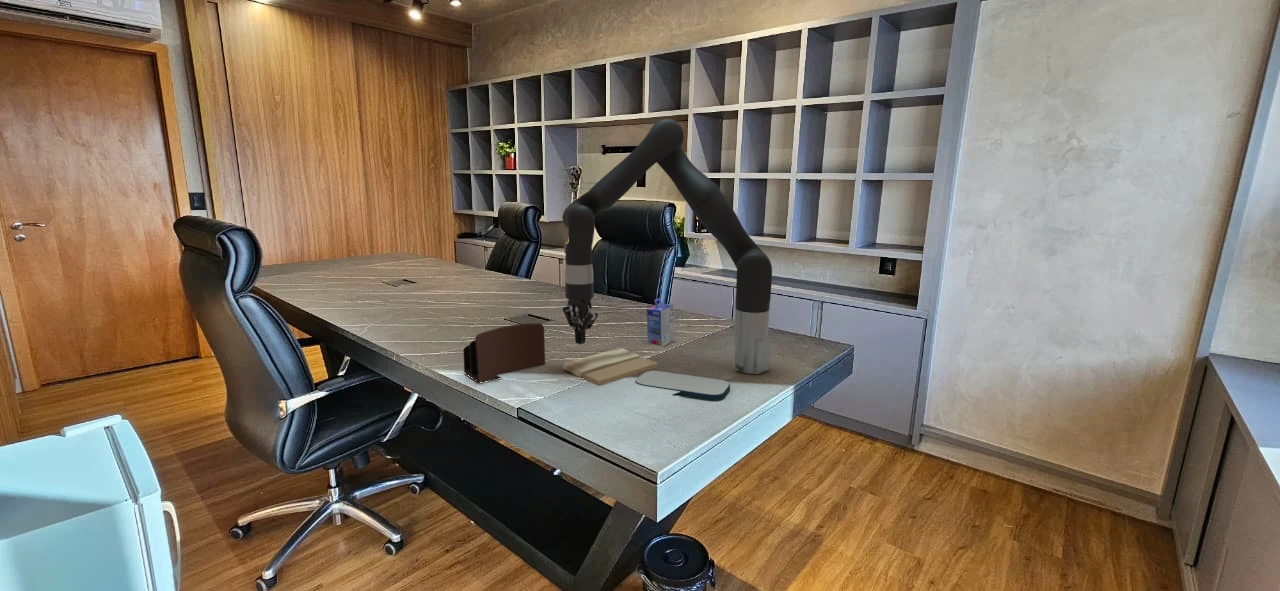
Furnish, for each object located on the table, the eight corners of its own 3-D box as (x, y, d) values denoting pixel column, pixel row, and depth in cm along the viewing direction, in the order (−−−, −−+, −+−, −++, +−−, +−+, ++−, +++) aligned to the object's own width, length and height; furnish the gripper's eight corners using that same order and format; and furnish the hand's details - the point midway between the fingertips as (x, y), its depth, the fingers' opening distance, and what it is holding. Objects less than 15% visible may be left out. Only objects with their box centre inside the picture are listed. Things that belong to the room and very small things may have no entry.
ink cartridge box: (659, 338, 193) (660, 295, 190) (674, 340, 190) (675, 297, 187) (646, 345, 184) (646, 301, 181) (661, 348, 182) (662, 303, 179)
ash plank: (639, 360, 165) (639, 355, 164) (581, 377, 151) (581, 372, 150) (620, 352, 170) (621, 347, 170) (563, 368, 156) (563, 363, 156)
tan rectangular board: (660, 370, 160) (660, 362, 160) (596, 391, 145) (596, 381, 144) (621, 357, 172) (621, 349, 172) (558, 375, 157) (557, 366, 156)
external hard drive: (732, 388, 148) (732, 381, 148) (721, 404, 138) (721, 396, 138) (647, 376, 157) (647, 369, 157) (630, 390, 147) (630, 383, 146)
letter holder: (546, 369, 162) (544, 320, 159) (478, 384, 150) (475, 332, 147) (529, 360, 169) (527, 313, 166) (463, 374, 157) (460, 324, 154)
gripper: (606, 282, 151) (606, 345, 154) (575, 275, 160) (576, 335, 164) (583, 285, 146) (584, 351, 149) (553, 278, 155) (554, 340, 159)
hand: (580, 343), depth 156 cm, fingers closed
